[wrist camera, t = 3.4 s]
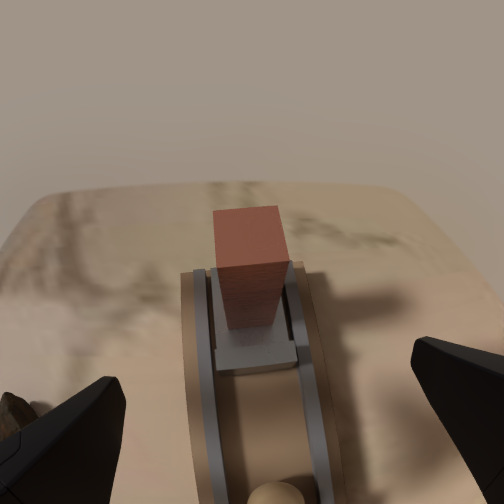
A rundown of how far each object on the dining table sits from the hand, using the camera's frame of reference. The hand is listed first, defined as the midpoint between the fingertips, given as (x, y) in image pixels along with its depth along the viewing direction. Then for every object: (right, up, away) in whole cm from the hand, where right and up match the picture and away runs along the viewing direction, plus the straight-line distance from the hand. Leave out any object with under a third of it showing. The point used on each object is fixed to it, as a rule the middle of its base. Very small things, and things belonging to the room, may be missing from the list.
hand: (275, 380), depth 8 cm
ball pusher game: (0, -7, +10) cm, 13 cm away
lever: (-1, -1, +12) cm, 12 cm away
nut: (+1, -11, +5) cm, 13 cm away
